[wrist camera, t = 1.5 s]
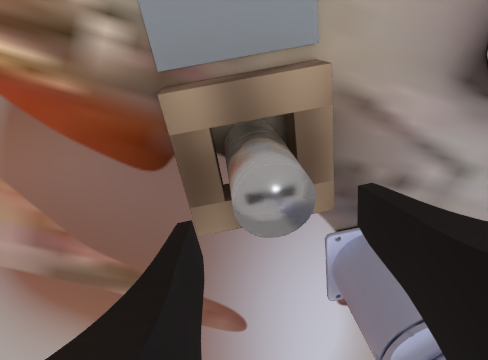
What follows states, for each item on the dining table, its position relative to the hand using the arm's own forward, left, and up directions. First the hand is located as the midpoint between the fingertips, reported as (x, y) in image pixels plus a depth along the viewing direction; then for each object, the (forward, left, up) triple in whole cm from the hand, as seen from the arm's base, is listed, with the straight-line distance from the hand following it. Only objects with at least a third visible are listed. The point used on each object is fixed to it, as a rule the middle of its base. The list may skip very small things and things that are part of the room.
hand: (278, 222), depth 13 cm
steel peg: (0, 0, -10) cm, 10 cm away
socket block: (0, 0, -10) cm, 10 cm away
